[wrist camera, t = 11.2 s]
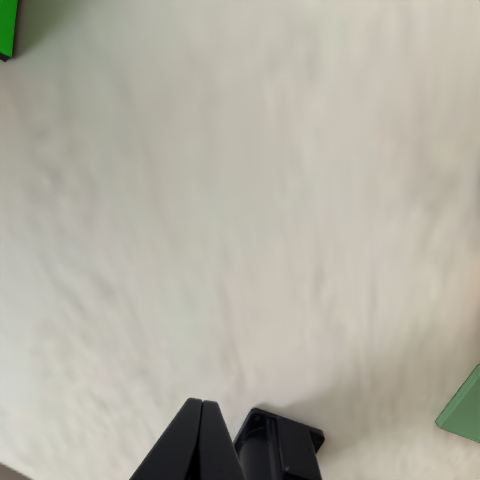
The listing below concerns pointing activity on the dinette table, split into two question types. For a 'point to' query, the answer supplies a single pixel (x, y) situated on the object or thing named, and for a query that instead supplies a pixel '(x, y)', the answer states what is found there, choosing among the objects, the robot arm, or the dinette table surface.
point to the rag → (464, 410)
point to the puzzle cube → (7, 27)
